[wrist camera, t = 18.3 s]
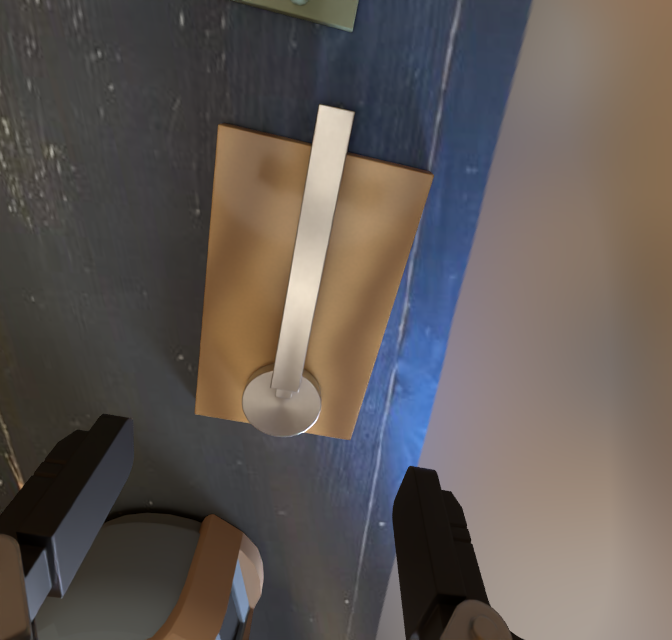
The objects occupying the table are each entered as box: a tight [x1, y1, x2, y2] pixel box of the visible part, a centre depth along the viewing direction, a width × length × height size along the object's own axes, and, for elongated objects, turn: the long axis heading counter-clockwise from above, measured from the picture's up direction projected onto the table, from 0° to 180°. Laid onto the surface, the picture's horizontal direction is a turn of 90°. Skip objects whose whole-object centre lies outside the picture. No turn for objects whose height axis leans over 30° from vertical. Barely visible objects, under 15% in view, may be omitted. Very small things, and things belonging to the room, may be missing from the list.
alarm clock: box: [35, 513, 263, 640], centre depth 41 cm, size 19×20×12 cm
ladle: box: [242, 103, 355, 437], centre depth 29 cm, size 24×6×3 cm, turn 168°
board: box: [195, 123, 434, 440], centre depth 31 cm, size 13×22×1 cm, turn 168°
